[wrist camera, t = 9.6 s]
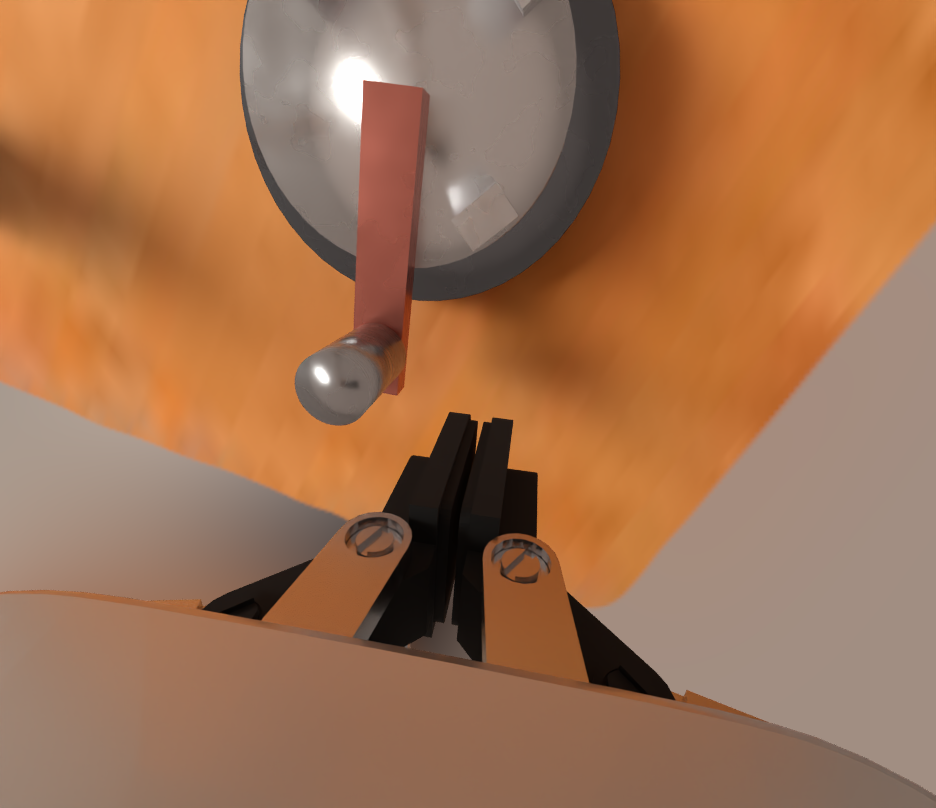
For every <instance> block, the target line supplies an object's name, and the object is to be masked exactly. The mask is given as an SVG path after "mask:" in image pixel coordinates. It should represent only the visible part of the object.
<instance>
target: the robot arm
mask: <svg viewBox="0 0 936 808" xmlns="http://www.w3.org/2000/svg"><path fill="white" fill-rule="evenodd" d="M512 427H513V420H508V419H500V418H493V419H492V423H489V422H484V423H483V427H482V431H481V435H480V438H479V442H478V446H477V450H476V439H477V428H478V421H474V420H471V415H469V414H462V413H454V412H450V413H449V414H448V417H447V419H446V421H445V424H444V426H443V428H442V430H441V433H440V435H439V437H438V439H437V442H436V444H435V446H434V449H433V451H432V453H431V455H430V458H429V457H422V456H415V455H413V456H411V457H410V459H409V461H408V463H407V465H406V467H405V469H404V471H403V473H402V474H401V476H400V478H399V480H398V482H397V484H396V486H395V488H394V490H393V492H392V494H391V496H390V498H389V500H388V502H387V504H386V506H385V508H384V509H383V511H382V512H373V513H366V514H363V515H359V516H357V517H355V518H353V519H351V520H349V521H348V522H347V523H346V524H344V525H343V526H342V527H341V528H340V529H339V531H338V532H337V533H336V534H335V535H334V536H333V538H332V539H331V540H330V541H329V542H328V543H327V545H326V546H325V547H324V548H323V549H322V550H321V552H320V553H319V554H318V555H317V556H316V557H315V558H314V559H312V560H309V561H307V562H304V563H302V564H299V565H297V566H294V567H292V568H289V569H287V570H284V571H282V572H279V573H277V574H274V575H272V576H269V577H267V578H264V579H262V580H259V581H257V582H254V583H252V584H249V585H247V586H244V587H242V588H239V589H237V590H234V591H232V592H229V593H227V594H225V595H223V596H221V597H219V598H217V599H215V600H213V601H212V602H211V603H209V604H208V605H207V606H203V605H202V601H201V599H200V600H198V599H197V600H159V601H145V600H139V599H133V598H126V597H119V596H111V595H103V594H95V593H88V592H76V591H56V590H29V591H28V590H27V591H6V592H0V808H936V795H934V794H932V793H931V792H929V791H927V790H926V789H924V788H923V787H921V786H919V785H918V784H916V783H914V782H912V781H910V780H908V779H906V778H904V777H902V776H900V775H898V774H896V773H894V772H892V771H890V770H888V769H887V768H885V767H883V766H881V765H879V764H877V763H875V762H873V761H871V760H869V759H867V758H865V757H863V756H860V755H858V754H855V753H853V752H851V751H848V750H846V749H843V748H841V747H838V746H836V745H833V744H831V743H829V742H826V741H824V740H822V739H819V738H817V737H814V736H811V735H808V734H804V733H801V732H798V731H795V730H792V729H789V728H786V727H783V726H779V725H776V724H773V723H769V722H766V721H764V720H761V719H759V718H756V717H754V716H751V715H749V714H746V713H744V712H741V711H738V710H736V709H733V708H731V707H728V706H726V705H723V704H721V703H718V702H716V701H713V700H711V699H708V698H706V697H703V696H700V695H698V694H695V693H693V692H690V691H688V690H686V693H685V695H684V696H681V695H679V694H676V693H674V692H671V691H670V689H669V688H668V685H667V684H666V683H665V682H664V681H663V680H662V678H661V677H660V676H659V675H658V674H657V673H656V672H655V671H654V670H653V669H652V668H651V667H650V666H649V665H648V664H646V663H645V662H644V661H643V660H642V659H641V658H640V657H639V656H638V655H636V654H635V653H634V652H633V651H632V650H631V649H630V648H629V647H628V646H626V645H625V644H624V643H623V642H622V641H621V640H620V639H619V638H618V637H617V636H615V635H614V634H613V633H612V632H611V631H610V630H609V629H607V627H606V626H604V625H603V624H602V623H601V622H600V621H599V620H598V619H597V618H596V617H595V616H593V615H592V614H591V613H590V612H589V611H588V610H587V609H586V608H585V607H583V606H582V605H581V604H580V603H579V602H578V601H577V600H576V599H575V598H574V597H572V596H571V595H570V594H569V593H568V592H567V591H566V587H565V583H564V579H563V575H562V571H561V567H560V563H559V560H558V558H557V556H556V553H555V552H554V551H553V550H552V549H551V548H550V547H549V545H547V544H546V543H544V542H543V541H541V540H540V539H537V481H538V475H537V473H535V472H528V471H521V470H514V469H507V467H508V459H509V451H510V443H511V435H512ZM475 451H476V454H475ZM454 580H455V584H454ZM453 584H454V597H453V610H452V624H453V625H458V633H457V641H458V642H459V643H460V645H461V646H462V647H463V649H464V650H465V651H466V653H467V654H468V655H469V657H470V658H471V659H472V660H468V659H463V658H457V657H453V656H447V655H442V654H436V653H431V652H426V651H420V650H415V649H410V643H412V642H414V641H415V640H417V639H419V638H421V637H422V636H426V637H432V634H433V630H434V626H435V622H442V623H444V622H445V618H446V614H447V610H448V605H449V601H450V597H451V592H452V588H453Z"/></svg>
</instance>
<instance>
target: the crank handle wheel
mask: <svg viewBox="0 0 936 808" xmlns="http://www.w3.org/2000/svg"><path fill="white" fill-rule="evenodd" d="M576 63H577V56H576V43H575V30H574V24H573V19H572V14H571V9H570V4H569V0H249V2H248V7H247V12H246V17H245V27H244V37H243V76H244V85H245V95H246V100H247V105H248V110H249V115H250V120H251V123H252V126H253V129H254V133H255V136H256V139H257V142H258V145H259V147H260V150H261V152H262V154H263V157H264V159H265V162H266V164H267V166H268V168H269V170H270V172H271V173H272V175H273V177H274V179H275V181H276V182H277V184H278V186H279V187H280V189H281V190H282V192H283V193H284V195H285V196H286V198H287V199H288V200H289V202H290V203H291V205H292V206H293V207H294V208H295V209H296V210H297V211H298V213H299V214H300V215H301V216H302V217H303V218H304V219H305V221H307V222H308V223H309V224H310V225H311V226H312V227H313V228H314V229H315V230H316V231H317V232H319V233H320V234H321V235H322V236H324V237H325V238H326V239H328V240H329V241H331V242H332V243H333V244H335V245H336V246H338V247H340V248H342V249H343V250H345V251H347V252H349V253H351V254H353V255H355V256H356V280H355V307H354V330H353V331H351V332H349V333H348V334H346V335H344V336H343V337H341V338H339V339H338V340H336V341H334V342H333V343H331V344H329V345H328V346H326V347H324V348H323V349H321V350H319V351H318V352H316V353H314V354H313V355H311V356H309V357H308V358H306V359H305V360H304V361H303V362H302V363H301V364H300V366H299V368H298V370H297V372H296V376H295V389H296V393H297V396H298V398H299V400H300V402H301V404H302V405H303V407H304V408H305V409H306V410H307V411H308V412H309V413H310V414H311V415H312V416H313V417H315V418H316V419H318V420H320V421H322V422H324V423H327V424H330V425H347V424H350V423H353V422H354V421H356V420H358V419H359V418H360V417H361V416H362V415H363V414H364V413H365V412H366V410H367V409H368V408H369V407H370V406H371V405H372V404H373V403H374V402H375V401H376V400H377V398H378V397H379V396H380V395H381V394H382V393H387V394H392V395H398V394H399V393H400V391H401V390H402V389H403V388H404V381H405V370H406V358H407V347H408V336H409V325H410V314H411V303H412V291H413V280H414V269H415V268H429V267H434V266H440V265H445V264H449V263H452V262H455V261H458V260H461V259H464V258H466V257H468V256H470V255H472V254H474V253H476V252H478V251H480V250H482V249H484V248H486V247H488V246H489V245H491V244H492V243H494V242H495V241H497V240H498V239H500V238H501V237H503V236H504V235H505V234H507V233H508V232H509V231H510V230H511V229H512V228H513V227H514V226H516V225H517V224H518V223H519V222H520V221H521V220H522V218H523V217H524V216H525V215H526V214H527V213H528V212H529V211H530V209H531V208H532V207H533V206H534V204H535V203H536V201H537V200H538V198H539V197H540V195H541V194H542V192H543V191H544V189H545V187H546V186H547V184H548V182H549V180H550V178H551V176H552V174H553V172H554V170H555V168H556V165H557V162H558V160H559V157H560V155H561V152H562V149H563V146H564V142H565V138H566V134H567V131H568V127H569V123H570V119H571V115H572V109H573V102H574V95H575V88H576Z"/></svg>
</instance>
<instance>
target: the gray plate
mask: <svg viewBox="0 0 936 808" xmlns="http://www.w3.org/2000/svg"><path fill="white" fill-rule="evenodd" d="M248 2H249V0H248V1H247V5H246V9H245V14H244V20H243V28H242V36H241V44H240V82H241V95H242V105H243V110H244V116H245V121H246V127H247V132H248V135H249V139H250V142H251V146H252V149H253V153H254V156H255V159H256V161H257V164H258V166H259V169H260V171H261V174H262V176H263V179H264V181H265V183H266V185H267V187H268V189H269V191H270V193H271V195H272V197H273V199H274V200H275V202H276V204H277V206H278V207H279V209H280V210H281V212H282V213H283V215H284V216H285V218H286V219H287V221H288V222H289V224H290V225H291V226H292V228H293V229H294V230H295V231H296V232H297V234H298V235H299V236H300V237H301V238H302V240H303V241H304V242H305V243H306V244H307V245H308V246H309V247H310V248H311V249H312V250H313V251H314V252H315V253H316V254H317V255H318V256H319V257H320V258H321V259H323V260H324V261H325V262H327V263H328V264H329V265H331V266H332V267H333V268H335V269H336V270H337V271H338V272H340V273H342V274H343V275H345V276H347V277H348V278H350V279H352V280H353V281H355V280H356V256H355V255H353V254H351V253H349V252H347V251H345V250H343V249H342V248H340V247H338V246H336V245H335V244H333V243H332V242H331V241H329V240H328V239H326V238H325V237H324V236H322V235H321V234H320V233H319V232H317V231H316V230H315V229H314V228H313V227H312V226H311V225H310V224H309V223H308V222H307V221H305V219H304V218H303V217H302V216H301V215H300V214H299V213H298V211H297V210H296V209H295V208H294V207H293V206H292V205H291V203H290V202H289V200H288V199H287V198H286V196H285V195H284V193H283V192H282V190H281V189H280V187H279V186H278V184H277V182H276V181H275V179H274V177H273V175H272V173H271V172H270V170H269V168H268V166H267V164H266V162H265V159H264V157H263V154H262V152H261V150H260V147H259V145H258V142H257V139H256V136H255V133H254V129H253V126H252V123H251V120H250V115H249V110H248V105H247V100H246V95H245V85H244V76H243V37H244V27H245V17H246V12H247V7H248ZM569 4H570V9H571V14H572V19H573V24H574V30H575V43H576V56H577V63H576V88H575V95H574V102H573V109H572V115H571V119H570V123H569V127H568V131H567V134H566V138H565V142H564V146H563V149H562V152H561V155H560V157H559V160H558V162H557V165H556V168H555V170H554V172H553V174H552V176H551V178H550V180H549V182H548V184H547V186H546V187H545V189H544V191H543V192H542V194H541V195H540V197H539V198H538V200H537V201H536V203H535V204H534V206H533V207H532V208H531V209H530V211H529V212H528V213H527V214H526V215H525V216H524V217H523V218H522V220H521V221H520V222H519V223H518V224H517V225H516V226H514V227H513V228H512V229H511V230H510V231H509V232H508V233H507V234H505V235H504V236H503V237H501V238H500V239H498V240H497V241H495V242H494V243H492V244H491V245H489V246H488V247H486V248H484V249H482V250H480V251H478V252H476V253H474V254H472V255H470V256H468V257H466V258H464V259H461V260H458V261H455V262H452V263H449V264H445V265H440V266H434V267H429V268H415V269H414V280H413V291H412V300H419V301H442V300H449V299H457V298H463V297H467V296H470V295H474V294H478V293H481V292H484V291H486V290H489V289H491V288H493V287H496V286H498V285H501V284H503V283H504V282H506V281H508V280H510V279H511V278H513V277H515V276H516V275H518V274H520V273H522V272H523V271H524V270H526V269H527V268H528V267H529V266H531V265H532V264H533V263H535V262H536V261H537V260H538V259H540V258H541V257H542V256H543V255H544V254H545V253H546V252H547V251H548V250H549V249H550V248H551V247H552V246H553V245H554V244H555V243H556V242H557V241H558V240H559V239H560V238H561V236H562V235H563V234H564V232H565V231H566V230H567V229H568V227H569V226H570V225H571V224H572V222H573V221H574V220H575V218H576V217H577V215H578V213H579V212H580V210H581V208H582V207H583V205H584V203H585V202H586V200H587V199H588V197H589V195H590V193H591V191H592V189H593V186H594V184H595V182H596V180H597V178H598V176H599V173H600V171H601V169H602V166H603V163H604V160H605V157H606V154H607V151H608V148H609V145H610V142H611V137H612V132H613V128H614V123H615V118H616V113H617V106H618V95H619V85H620V47H619V38H618V31H617V23H616V16H615V10H614V7H613V3H612V0H569Z"/></svg>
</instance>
